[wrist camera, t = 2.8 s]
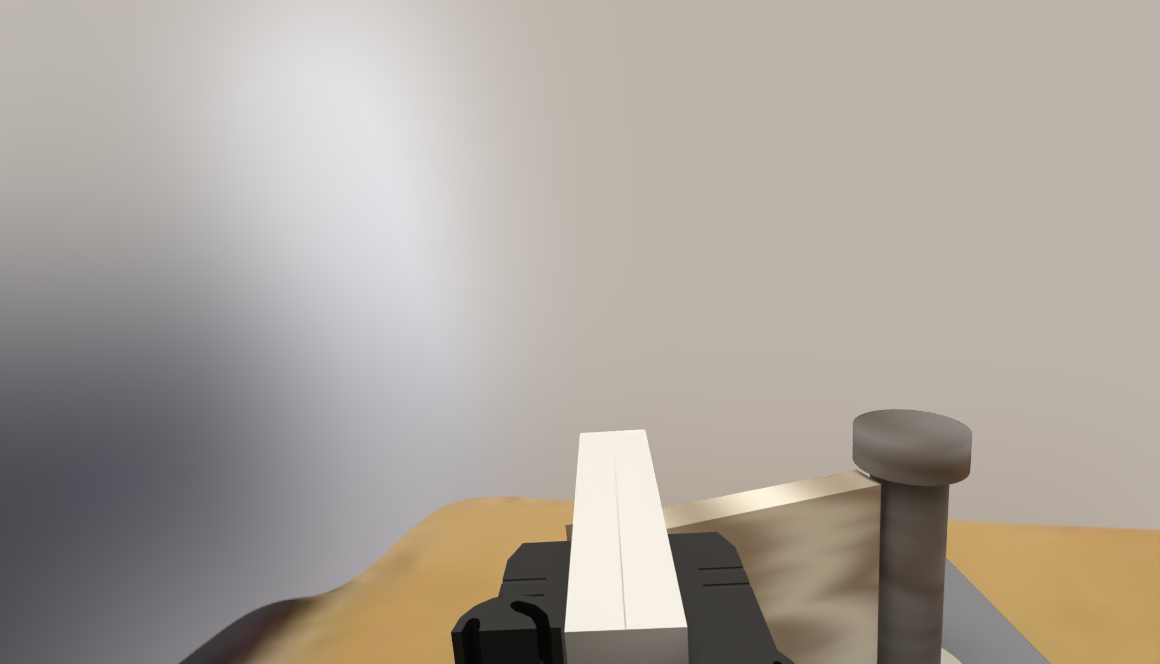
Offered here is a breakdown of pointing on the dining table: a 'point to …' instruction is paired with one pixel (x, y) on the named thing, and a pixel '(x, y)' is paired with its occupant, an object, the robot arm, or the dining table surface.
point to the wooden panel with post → (850, 544)
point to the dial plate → (979, 628)
